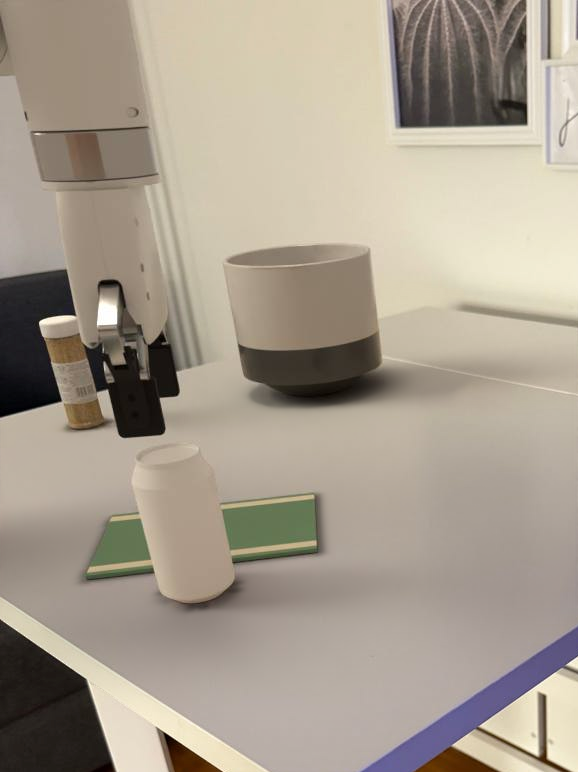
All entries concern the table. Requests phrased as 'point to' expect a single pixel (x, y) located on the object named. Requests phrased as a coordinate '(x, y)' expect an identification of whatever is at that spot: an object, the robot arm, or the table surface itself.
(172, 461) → the beverage can
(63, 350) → the sprinkles bottle
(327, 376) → the planter
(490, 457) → the table surface
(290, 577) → the table surface
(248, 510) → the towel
